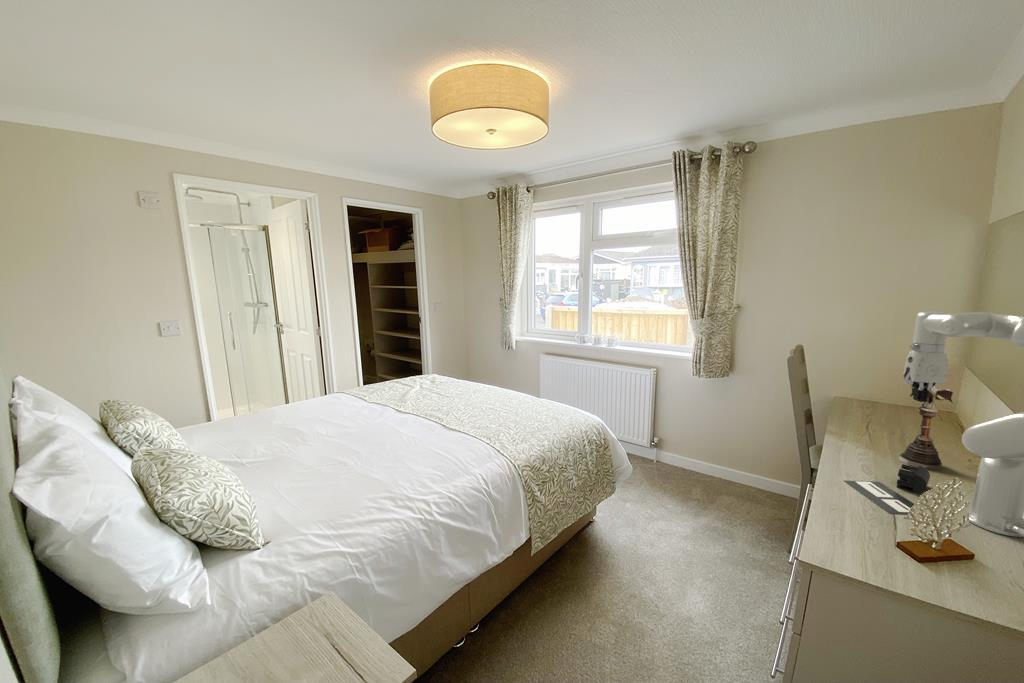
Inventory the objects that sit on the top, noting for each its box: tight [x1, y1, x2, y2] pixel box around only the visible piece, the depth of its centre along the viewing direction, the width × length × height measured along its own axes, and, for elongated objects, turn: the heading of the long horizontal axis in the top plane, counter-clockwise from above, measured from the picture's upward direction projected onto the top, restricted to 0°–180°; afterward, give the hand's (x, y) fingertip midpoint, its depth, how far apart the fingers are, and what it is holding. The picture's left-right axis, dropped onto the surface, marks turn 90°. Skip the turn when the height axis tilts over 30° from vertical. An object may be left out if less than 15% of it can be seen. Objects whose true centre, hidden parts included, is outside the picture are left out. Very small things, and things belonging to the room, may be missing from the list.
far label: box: [854, 480, 894, 498], centre depth 136 cm, size 10×5×1 cm, turn 174°
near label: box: [881, 499, 911, 512], centre depth 126 cm, size 7×5×1 cm
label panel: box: [843, 480, 915, 515], centre depth 131 cm, size 20×12×1 cm, turn 174°
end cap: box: [896, 463, 931, 494], centre depth 136 cm, size 10×7×7 cm
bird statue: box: [898, 385, 954, 471], centre depth 153 cm, size 17×13×35 cm
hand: (919, 400), depth 133 cm, fingers closed
